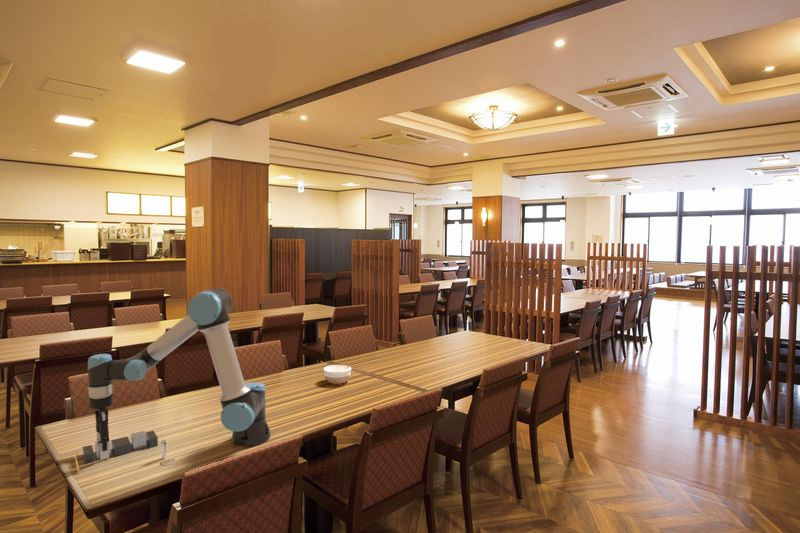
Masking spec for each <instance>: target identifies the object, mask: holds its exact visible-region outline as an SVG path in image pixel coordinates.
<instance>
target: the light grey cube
mask: <svg viewBox="0 0 800 533" xmlns="http://www.w3.org/2000/svg"><path fill="white" fill-rule="evenodd" d="M130 443H131V446H132V448H133V450H136V449H140V448H144V447H146V431H144V430H140V431H137V432H133V433H130Z"/></svg>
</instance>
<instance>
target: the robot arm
mask: <svg viewBox="0 0 800 533" xmlns="http://www.w3.org/2000/svg"><path fill="white" fill-rule="evenodd" d="M232 307H233V298H232V296H231V294H230V293H229V292H228V291H227V290H225V289H223V288H220V287H215V288H211V289H209V290H203V291H201V292H199V293H197V294H196V295H193V297H192V298H191V299H190V301H189V303H188V305H187V315H186V316H185V317H184V318H183V317H182V319H181V320H180V321H178V322H177V323H175V325H173V326H172V327H171V328H169V329H168V330H167V331H165V333H163V334H162V335H160V336H159V337H158V338H157V339H155V340H154V341H153V342H152V343H150V344H149V345H148V346H146V347H145V348H144V349H142V350H141V351H140V352H138V353H137V354H135V355H133V356H131V357H128V358H127V359H119V360H118V359H113V358H112V355H111V353H110V354H109V353H99V354H93V355H92V356H89V357H88V358H87V359H88V360H87V372H88V373H87V375H88V376H87V377H88V397H89V399H88V403H89V406H88V407H89V408H90V409H91V410H94V415H95V418H94V419H95V430H96V441H100V442H98V444H99V443H100V460H99V461H103V460H107V459H110V458H109V441H110V437H109V436H110V434H109V410H108V407H111V406H112V405H113V404H114V396H113V388H114V387H115V384H113V381H131V382H133V381H140V380H142V379H144V378H145V376H146V375H147V371H148V370H151V369H152V368H154V367H155V366H156V365H157V364H158V363H159V362H160V361H162V360H163V359H164V358H165V357H167V356H168V355H169V354H170V353H171V352H173V351H174V350H175V349H177V348H178V347H179V346H181V345H182V344H184V342H185V341H187V340H188V339H189V338H190V337H192V336H193V335H195V334H196V333H197V332H201V333H203V335H204V338H205V340H206V344H207V347H208V351H209V353H210V354H209V355H210V357H211V360H212V363H213V366H214V370H215V373H216V377H217V380H218V383H219V386H220V389H221V396H220V398H219V400H220V405H221V408H222V410H221V414H220V422H221V424H222V425H223V427H224V428H226V430H228V431H231V432H232V434H231V442H232V444H234V445H235V446H239V447H253V446H257V445H260V444H263V443H265V442H266V443H267V441H268V440H270V438H271V430H270V427H269V424H268V421H267V419H266V418H267V417H266V391H267V390H266V386H265V384H264V383H262V382H245V380H244V377H243V373H242V370H241V366H240V363H239V360H238V356H237V353H236V350H235V347H234V346H235V345H234V343H233V340H232V336H231V333H230V330H229V324H230V322H231V318H230V315H229V313H230V311H231V310H232ZM106 458H107V459H106ZM102 459H103V460H102Z"/></svg>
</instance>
